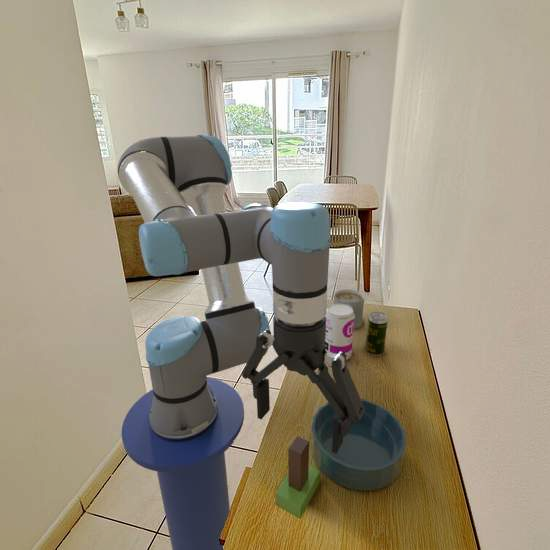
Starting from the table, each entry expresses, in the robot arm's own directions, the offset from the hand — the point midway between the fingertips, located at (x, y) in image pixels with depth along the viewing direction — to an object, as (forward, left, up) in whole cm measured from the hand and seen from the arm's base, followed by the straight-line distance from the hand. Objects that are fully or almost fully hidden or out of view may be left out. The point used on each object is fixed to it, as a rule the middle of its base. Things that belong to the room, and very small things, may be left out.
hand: (298, 429), depth 58 cm
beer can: (-1, +52, -16) cm, 54 cm away
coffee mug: (-14, +63, -16) cm, 66 cm away
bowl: (+6, +15, -16) cm, 22 cm away
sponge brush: (0, +1, -16) cm, 16 cm away
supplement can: (-10, +45, -16) cm, 49 cm away
